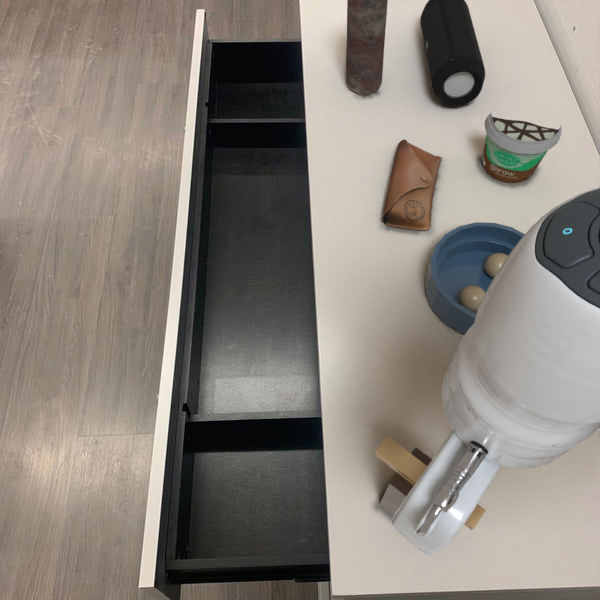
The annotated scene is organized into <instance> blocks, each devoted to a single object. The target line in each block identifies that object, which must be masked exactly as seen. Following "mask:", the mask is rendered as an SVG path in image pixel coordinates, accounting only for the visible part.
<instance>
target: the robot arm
mask: <svg viewBox="0 0 600 600" xmlns="http://www.w3.org/2000/svg"><path fill="white" fill-rule="evenodd" d="M524 234H525V235H524V236H523V237H522V239H521V240H520V241H519V242H518V243H517V245H516V246H515V247H514V249H513V250H512V251H511V253H510V254H509V255H508V257H507V258H506V260H505V261H504V263H503V264H502V265H501V267H500V269H499V270H498V272H497V273H496V275H495V277H494V278H493V280H492V282H491V284H490V286H489V287H488V289H487V291H486V293H485V295H484V297H483V299H482V301H481V303H480V305H479V307H478V310H477V313H476V317H475V322H474V324H473V325H472V326H471V327H470V328H469V330H468V331H467V332H466V334H463V337H462V338H461V341H460V343H459V345H458V347H457V349H456V352H455V353H454V355H453V357H452V359H451V361H450V363H449V365H448V367H447V369H446V371H445V374H444V376H443V381H442V386H441V402H442V406H443V410H444V413H445V416H446V419H447V421H448V423H449V425H450V427H451V428H452V430H451V432H450V433H449V434H448V436H447V438H446V439H445V440H444V442H443V444H442V445H440V448H439V449H438V451H437V452H436V453H435V454H434V456H433V458H431V459H432V461H431V462H430V463H429V465H428V466H427V468H426V469H425V471H424V472H423V473H422V475H421V476H420V478H419V479H418V481H417V482H416V483H415V485H414V486H413V488H412V489H411V491H410V492H409V494H408V495H407V496H406V498H405V499H404V501H403V502H402V504H401V505H400V507H399V508H398V510H397V511H396V512H395V514H394V516H393V515H392V516H393V517H392V519H391V525H392V527H393V529H395V530H396V531H397V532H398V533H399V534H400V535H401V536H403V538H405V539H406V540H407V541H408V542H409V543H411V544H412V545H413V546H414V547H415V548H417V549H418V550H419V551H421V552H422V553H423V554H425V555H427V556H434V555H436V554H437V553H439V552H440V551H441V550H442V549H443V548H444V547H445V546H446V545H447V544H448V543H449V542H451V540H452V539H453V538H454V537H456V535H457V534H458V532H459V531H460V530H461V529H462V528H463V526H465V525H464V524H465V522H466V521H467V519H468V518H469V517H470V515H471V514H472V512H473V511H474V509H475V507H476V506H477V504H478V505H479V503H480V501H481V500H482V499H483V496H484V495H485V493H486V492H487V490H488V488H489V487H490V486H491V484H492V482H493V481H494V479H495V477H497V475H498V473H499V471H500V470H501V468H502V467H507V468H513V469H533V468H540V467H543V466H546V465H548V464H550V463H552V462H555V461H556V460H558V459H559V458H560V457H562V456H563V455H565V454H567V453H568V452H569V451H571V450H572V449H574V448H575V447H576V446H578V445H580V444H581V443H582V442H584V441H586V440H588V439H589V438H590V437H591V436H593V435H594V434H596V432H597V431H599V430H600V187H595V188H592V189H589V190H586V191H584V192H581V193H579V194H576V195H575V196H573V197H570V198H568V199H567V200H565V201H563V202H561V203H559V204H558V205H556V206H555V207H553V208H552V209H550V210H549V211H548V212H546V213H545V214H544V215H543V216H541V217H540V218H539V219H538V220H537V221H536V222H535V223H534V224H533V225H532V226H531V227H530V228H529V229H528V230H527V231H526V232H525V233H524Z"/></svg>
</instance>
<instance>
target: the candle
mask: <svg viewBox="0 0 600 600" xmlns="http://www.w3.org/2000/svg"><path fill="white" fill-rule="evenodd" d="M388 1H389V0H347V1H346V3H347V4H346V5H347V6H346V7H347V8H346V46H345V50H346V51H345V83H346V85H347V86H348V88H349V89H350V90H351V91H353V92H355V93H357V94H358V95H360V96H370V95H372V94H374V93H376V92H378V91H379V89H380V87H381V86H382V83H383V73H384V72H383V71H384V55H385V40H386V26H387V14H388Z"/></svg>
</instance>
